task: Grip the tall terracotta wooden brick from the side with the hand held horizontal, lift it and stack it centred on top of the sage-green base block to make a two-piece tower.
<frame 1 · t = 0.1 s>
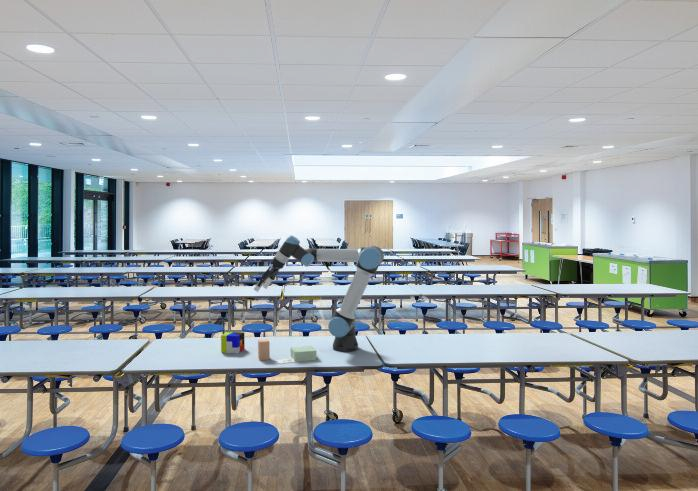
hand: (260, 289, 299), 36 cm above the table, tool tilted 35°, fingers open, 13 cm apart
puzzle toy: (233, 351, 299), on the table
brick: (263, 358, 282), on the table
base block: (303, 357, 284), on the table
instruction page: (286, 361, 277), on the table
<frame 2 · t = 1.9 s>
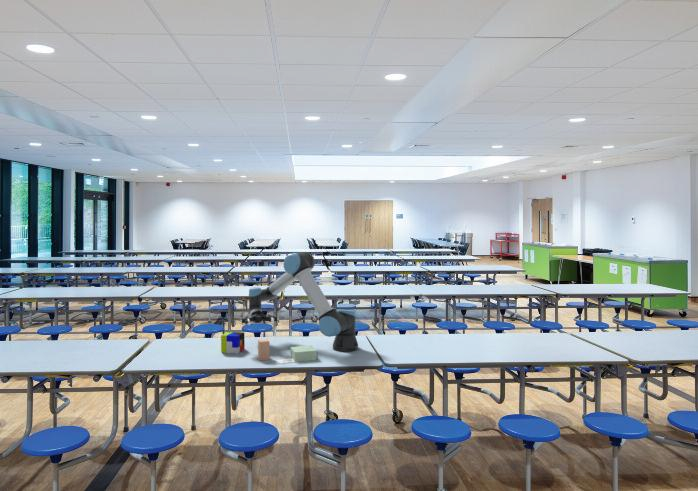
hand: (261, 322, 291), 18 cm above the table, tool horizontal, fingers open, 13 cm apart
nothing on the table moved.
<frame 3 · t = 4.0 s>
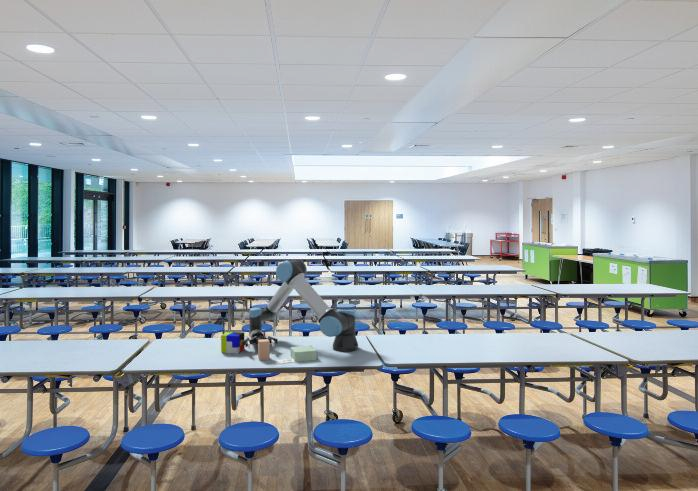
hand: (261, 345, 288), 6 cm above the table, tool horizontal, fingers open, 13 cm apart
nothing on the table moved.
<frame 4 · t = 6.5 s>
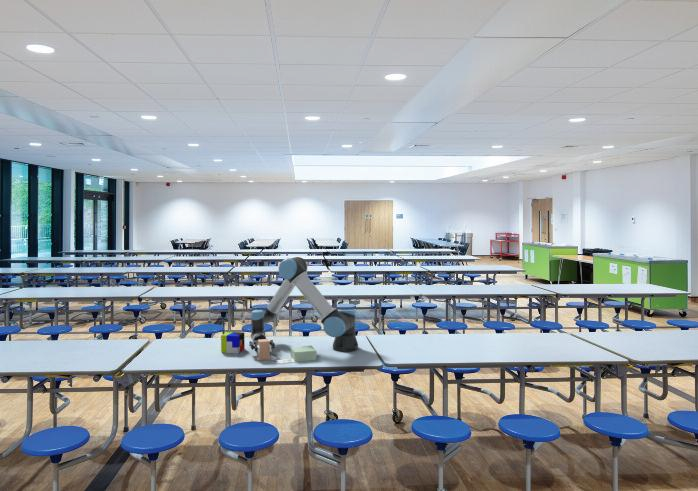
hand: (265, 349, 277), 6 cm above the table, tool horizontal, fingers closed on brick, 5 cm apart
brick: (263, 358, 282), on the table, touching gripper
everything else where it was.
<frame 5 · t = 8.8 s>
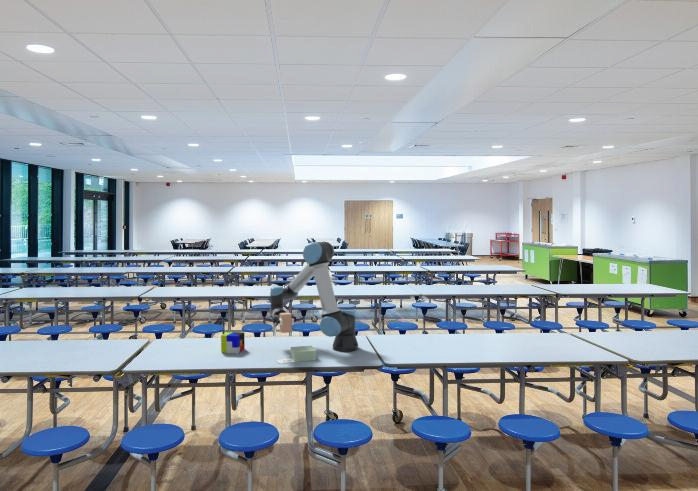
hand: (287, 322, 278), 20 cm above the table, tool horizontal, fingers closed on brick, 5 cm apart
brick: (285, 331, 284), point 14 cm above the table, touching gripper
everything else where it was.
when the fingers open (12 cm above the table, at t = 11.5 s): brick drops 1 cm, resting on base block.
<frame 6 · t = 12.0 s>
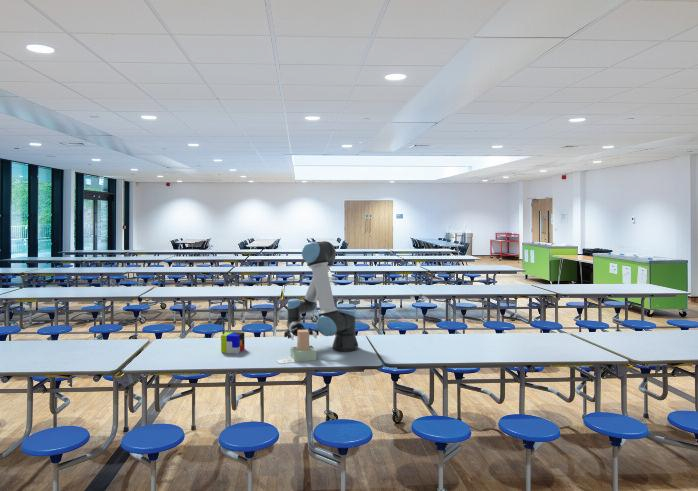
hand: (304, 336, 280), 12 cm above the table, tool horizontal, fingers open, 12 cm apart
brick: (303, 348, 283), point 5 cm above the table, touching base block
everything else where it was.
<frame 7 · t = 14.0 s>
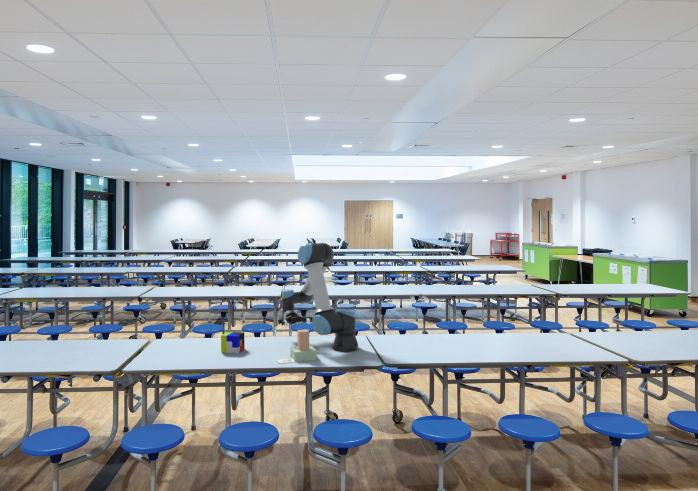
hand: (298, 323, 295), 17 cm above the table, tool horizontal, fingers open, 13 cm apart
nothing on the table moved.
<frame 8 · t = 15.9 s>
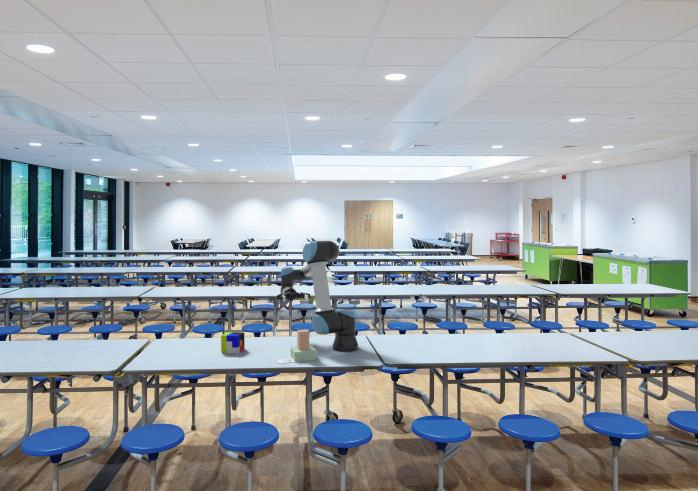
hand: (296, 298, 301), 30 cm above the table, tool horizontal, fingers open, 13 cm apart
nothing on the table moved.
at the end: brick inside the target area on the base block (0.1 cm from its centre), point 5.0 cm above the base block's base; brick tilted 0°; the gripper is holding nothing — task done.
